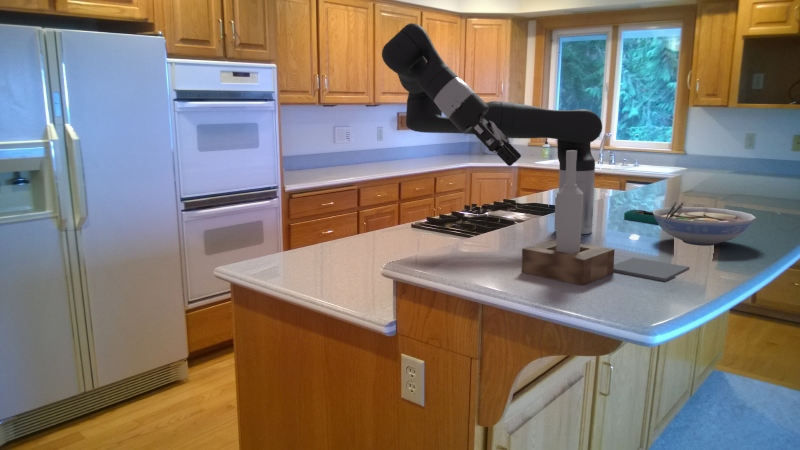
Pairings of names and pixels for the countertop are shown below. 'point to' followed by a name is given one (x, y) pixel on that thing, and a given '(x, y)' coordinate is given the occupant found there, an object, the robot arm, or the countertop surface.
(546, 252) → the walnut holder
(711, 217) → the ramen bowl
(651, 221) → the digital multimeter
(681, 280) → the countertop surface
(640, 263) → the slate mat
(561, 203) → the bottle
